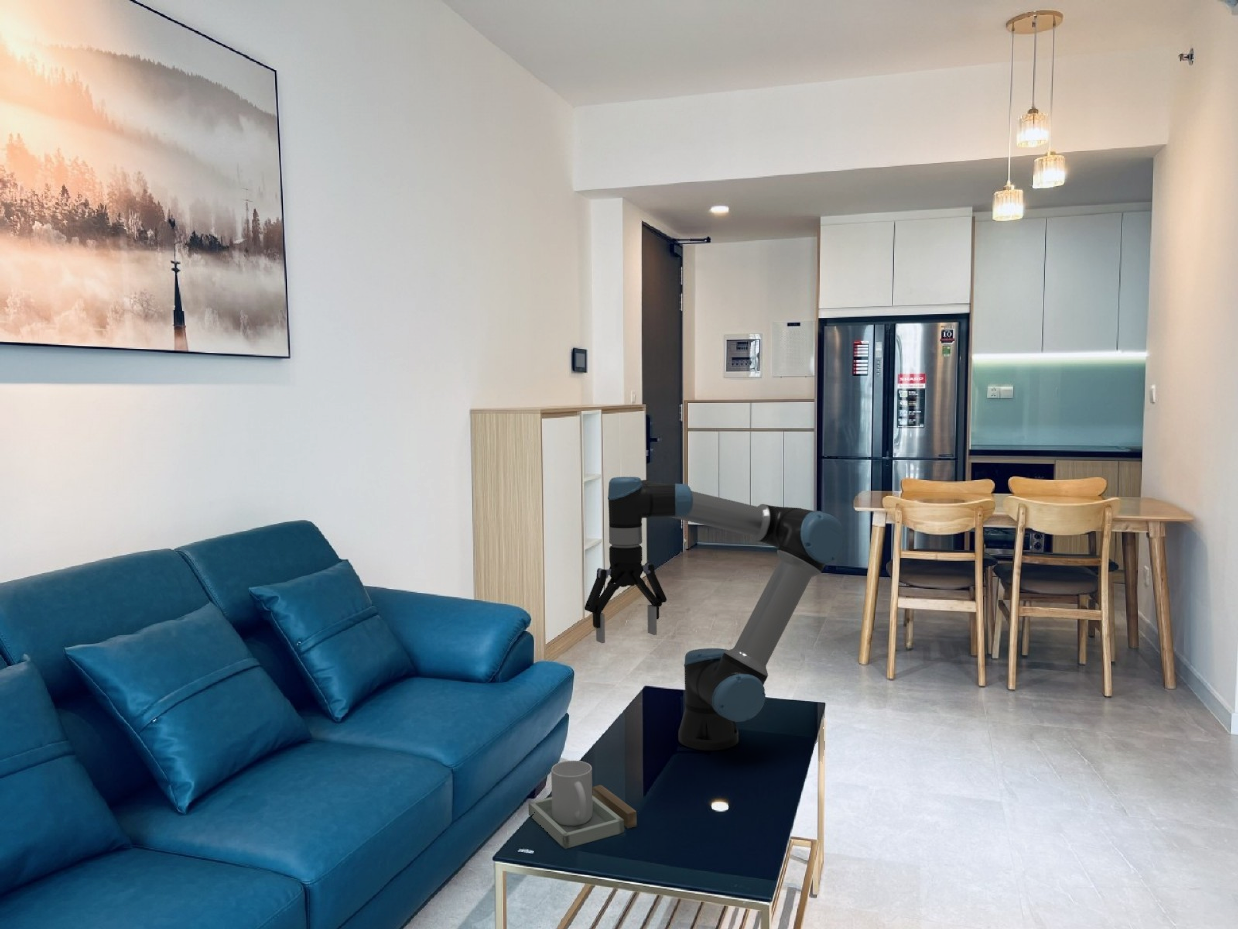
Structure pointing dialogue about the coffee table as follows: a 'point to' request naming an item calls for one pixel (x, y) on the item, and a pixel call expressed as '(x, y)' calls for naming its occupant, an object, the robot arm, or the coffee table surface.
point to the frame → (570, 836)
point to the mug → (571, 792)
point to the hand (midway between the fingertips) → (626, 638)
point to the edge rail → (616, 805)
